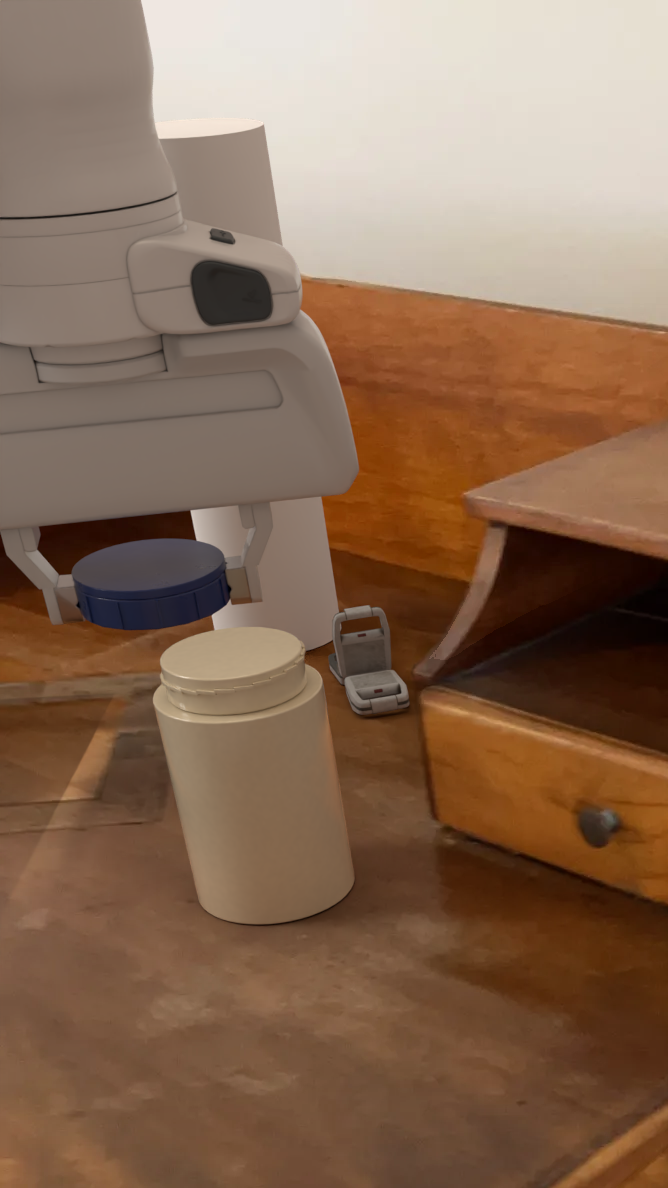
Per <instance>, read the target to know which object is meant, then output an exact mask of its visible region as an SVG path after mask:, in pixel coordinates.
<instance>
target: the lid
mask: <svg viewBox="0 0 668 1188" xmlns="http://www.w3.org/2000/svg"><path fill="white" fill-rule="evenodd" d="M225 566H226V563H225V558H224V554H223V553H222V551H221V550H220V549H218V548H217V547H215V546H213V545H211V544H208V543H205V542H200V541H197V540H196V539H195V540H194V539H187V538H186V539H185V538H150V539H141V540H135V541H128V542H123V543H120V544H119V543H118V544H115V545H112V546H108V547H105V548H102V549H99V550H97V551H94V552H92V553H89V554H88V555H85V556H84V557H83V558H81V559H80V560H78V561H77V562H76V563H75V564H74V566H73V567H72V569H71V574H72V578H73V582H74V585H75V589H76V593H77V597H78V603H77V604H79V606H80V610H81V614H82V615H83V616H84V618H85V621H87V622H90V623H91V624H93V625H96V626H99V627H102V628H106V629H113V630H122V631H151V630H152V631H153V630H162V629H163V630H164V629H169V628H173V627H174V628H175V627H178V626H184V625H188V624H192V623H194V622H197V621H200V620H203V619H205V618H208V617H212V615H213V614H214V613H216V612H217V611H219V610H221V609H222V608H223V607H224V606H226V605H227V603H228V602H229V600H230V595H229V590H230V586H229V585H228V584H227V580H226V574H225Z"/></svg>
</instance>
